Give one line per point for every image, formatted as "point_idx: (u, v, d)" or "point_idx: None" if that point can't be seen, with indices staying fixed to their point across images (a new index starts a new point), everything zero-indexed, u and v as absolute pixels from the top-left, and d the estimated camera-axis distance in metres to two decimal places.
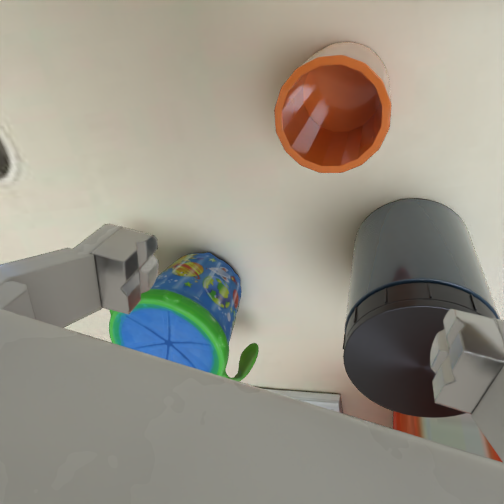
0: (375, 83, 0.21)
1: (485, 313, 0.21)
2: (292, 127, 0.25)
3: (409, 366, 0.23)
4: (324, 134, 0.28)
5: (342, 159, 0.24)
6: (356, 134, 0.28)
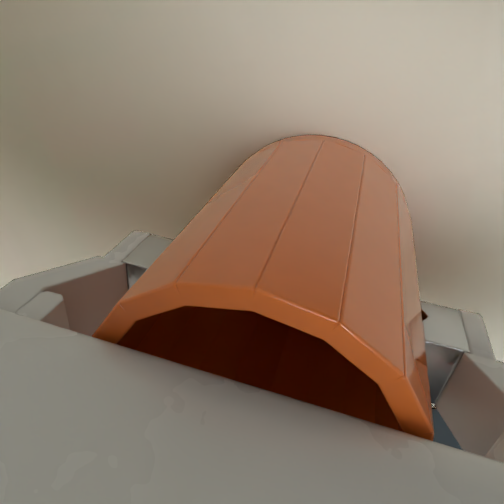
0: (378, 378, 0.06)
1: None
2: None
3: None
4: None
5: None
6: None
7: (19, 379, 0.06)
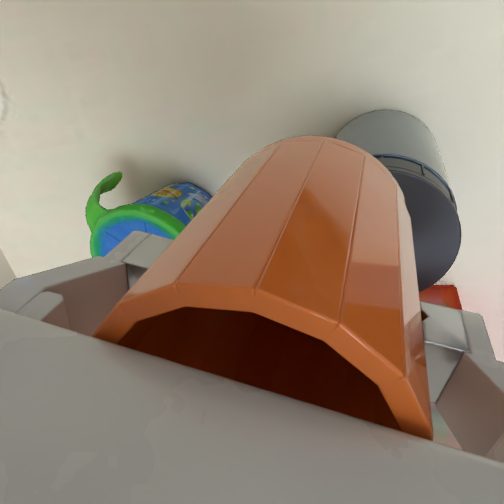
0: (377, 379, 0.06)
1: (434, 179, 0.22)
2: None
3: None
4: None
5: None
6: None
7: (19, 379, 0.06)
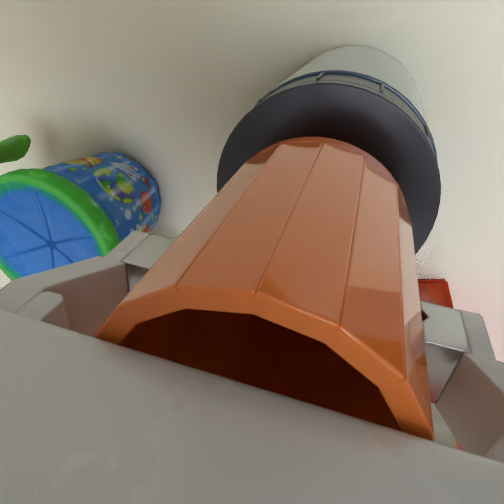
0: (378, 381, 0.06)
1: (398, 101, 0.14)
2: None
3: None
4: None
5: None
6: None
7: (19, 379, 0.06)
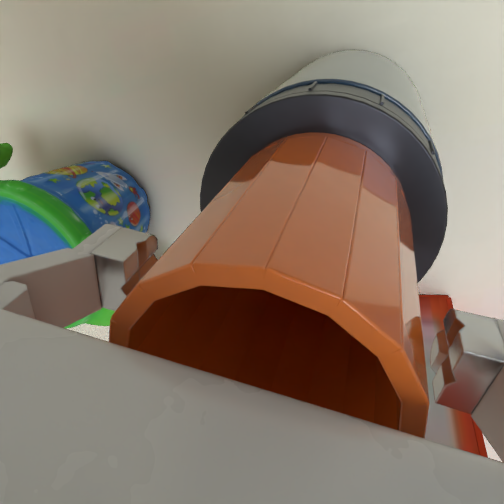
0: (377, 351, 0.06)
1: (400, 114, 0.13)
2: (186, 349, 0.11)
3: None
4: (279, 308, 0.14)
5: None
6: None
7: (19, 379, 0.06)
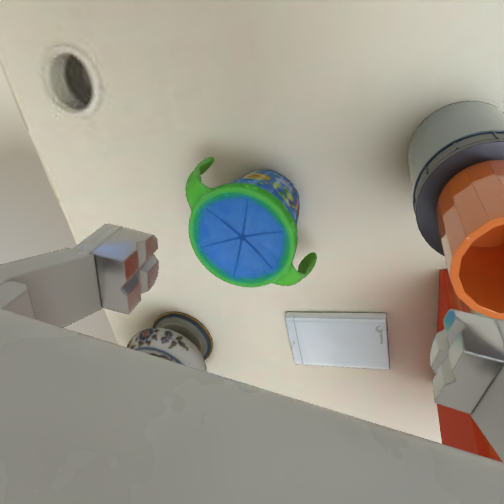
0: None
1: None
2: None
3: None
4: (470, 254, 0.26)
5: None
6: None
7: (19, 379, 0.06)
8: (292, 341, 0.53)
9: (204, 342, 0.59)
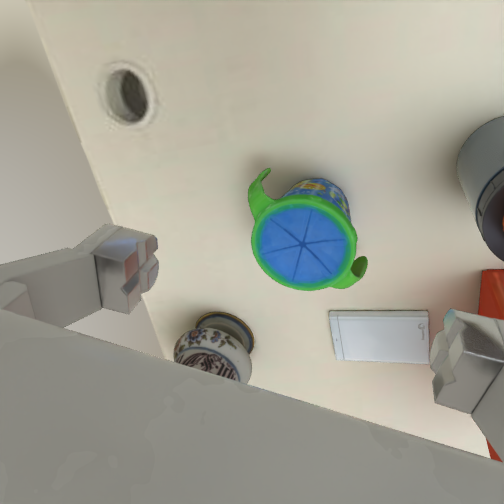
0: None
1: None
2: None
3: None
4: None
5: None
6: None
7: (19, 379, 0.06)
8: (335, 338, 0.56)
9: (247, 340, 0.62)
